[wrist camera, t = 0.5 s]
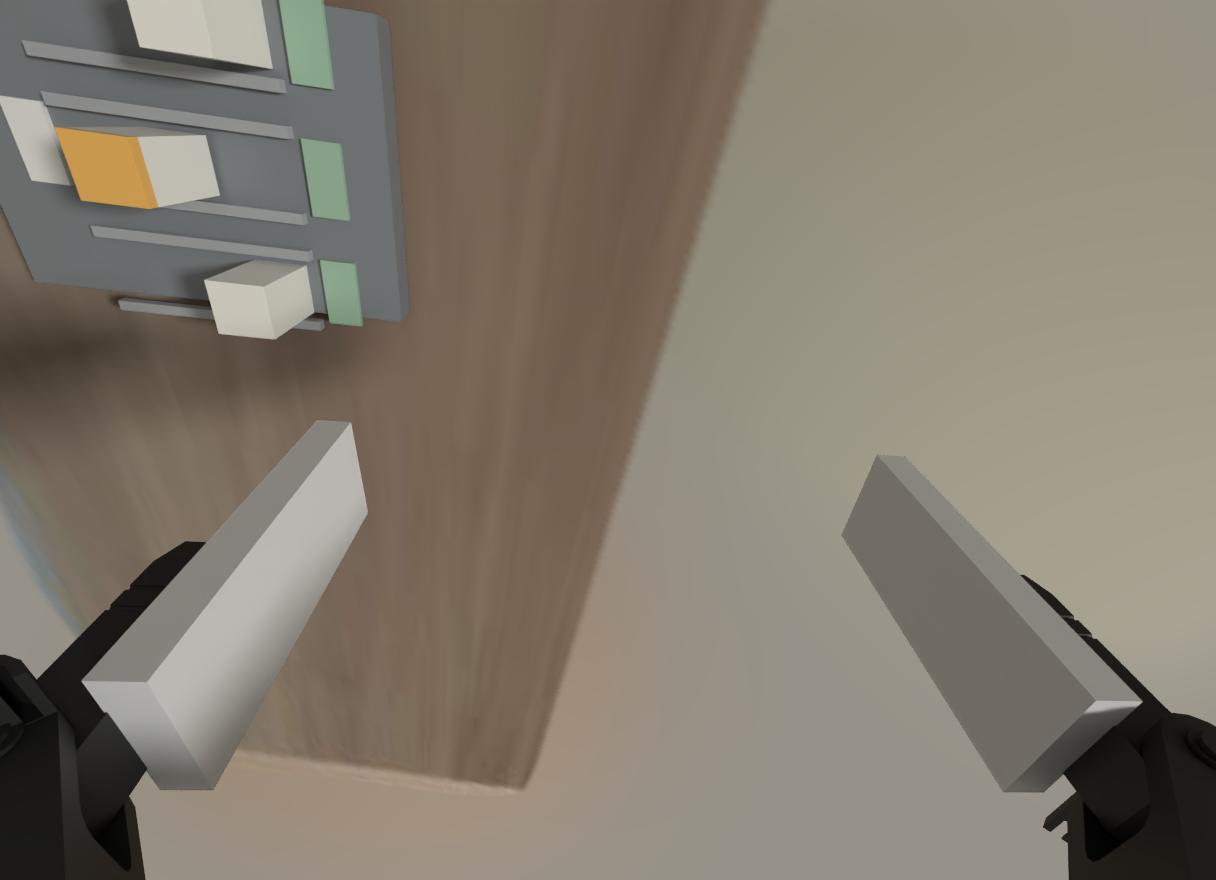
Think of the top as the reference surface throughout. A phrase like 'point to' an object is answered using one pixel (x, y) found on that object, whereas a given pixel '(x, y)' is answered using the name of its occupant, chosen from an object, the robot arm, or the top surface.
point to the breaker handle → (138, 165)
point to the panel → (213, 156)
